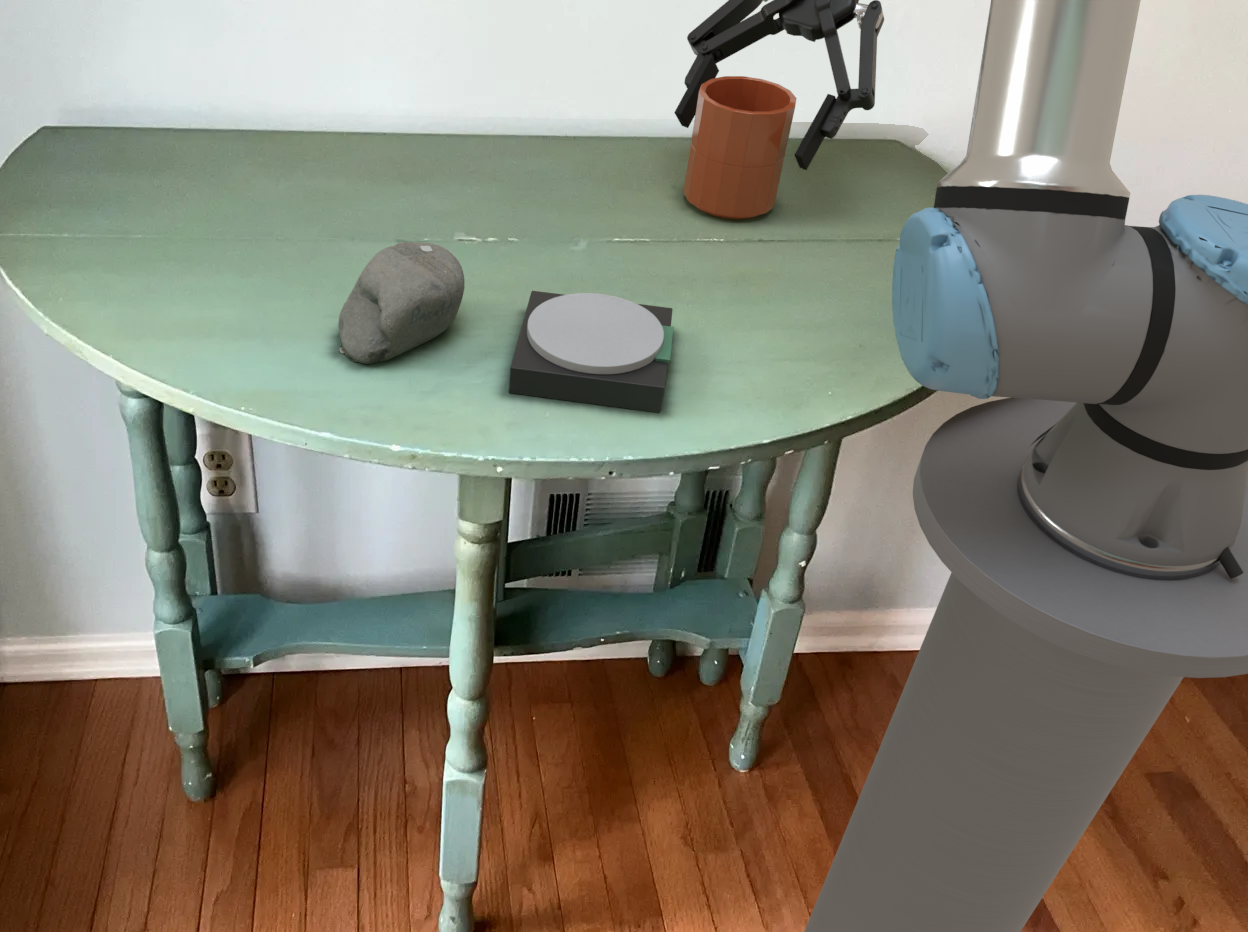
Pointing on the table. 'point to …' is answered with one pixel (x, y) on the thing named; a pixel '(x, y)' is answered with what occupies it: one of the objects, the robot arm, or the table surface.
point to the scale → (593, 350)
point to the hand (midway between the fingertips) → (739, 141)
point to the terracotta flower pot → (738, 146)
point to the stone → (400, 301)
